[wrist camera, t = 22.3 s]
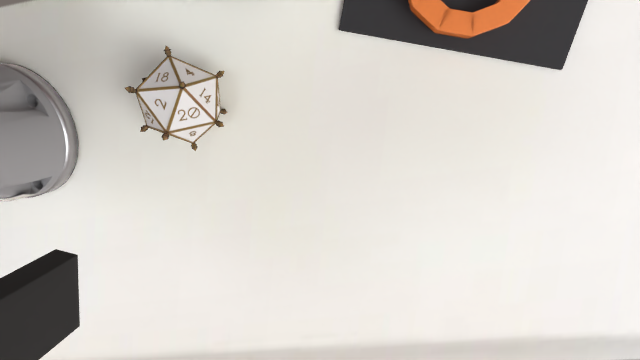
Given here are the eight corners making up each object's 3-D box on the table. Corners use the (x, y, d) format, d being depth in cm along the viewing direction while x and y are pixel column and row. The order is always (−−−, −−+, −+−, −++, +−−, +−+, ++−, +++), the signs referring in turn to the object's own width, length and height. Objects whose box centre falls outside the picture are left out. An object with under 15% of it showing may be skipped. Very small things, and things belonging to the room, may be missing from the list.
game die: (224, 82, 40) (238, 42, 30) (223, 156, 39) (237, 138, 30) (136, 71, 36) (121, 22, 27) (133, 152, 35) (116, 130, 26)
